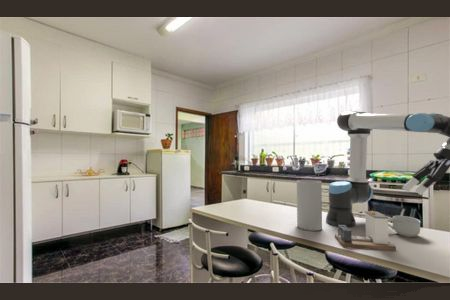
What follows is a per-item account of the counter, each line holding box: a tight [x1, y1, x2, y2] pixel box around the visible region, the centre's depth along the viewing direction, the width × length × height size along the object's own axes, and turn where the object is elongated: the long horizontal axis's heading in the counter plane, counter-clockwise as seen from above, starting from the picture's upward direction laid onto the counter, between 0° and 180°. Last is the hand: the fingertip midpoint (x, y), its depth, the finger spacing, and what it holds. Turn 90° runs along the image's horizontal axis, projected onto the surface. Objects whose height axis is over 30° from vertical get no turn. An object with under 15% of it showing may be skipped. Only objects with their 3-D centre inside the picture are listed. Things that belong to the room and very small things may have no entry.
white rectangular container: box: [364, 210, 390, 244], centre depth 98 cm, size 9×5×12 cm, turn 170°
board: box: [334, 233, 397, 251], centre depth 99 cm, size 12×20×2 cm, turn 80°
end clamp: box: [337, 225, 353, 242], centre depth 100 cm, size 8×3×5 cm, turn 170°
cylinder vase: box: [296, 179, 323, 232], centre depth 121 cm, size 12×12×25 cm
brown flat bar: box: [339, 235, 390, 243], centre depth 99 cm, size 3×19×1 cm, turn 80°
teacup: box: [387, 215, 421, 238], centre depth 110 cm, size 14×11×8 cm
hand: (410, 191), depth 94 cm, fingers open, 13 cm apart
